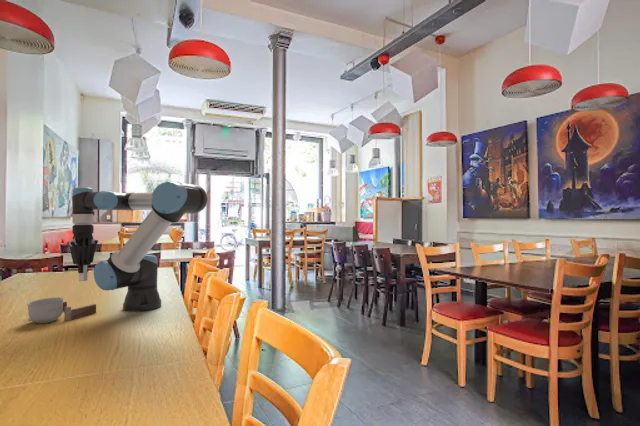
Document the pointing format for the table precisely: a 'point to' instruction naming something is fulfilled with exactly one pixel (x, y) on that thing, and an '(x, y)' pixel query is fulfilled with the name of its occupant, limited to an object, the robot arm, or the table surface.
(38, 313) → the teacup
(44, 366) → the table surface
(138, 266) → the robot arm
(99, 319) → the table surface
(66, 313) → the brown parallel rails
